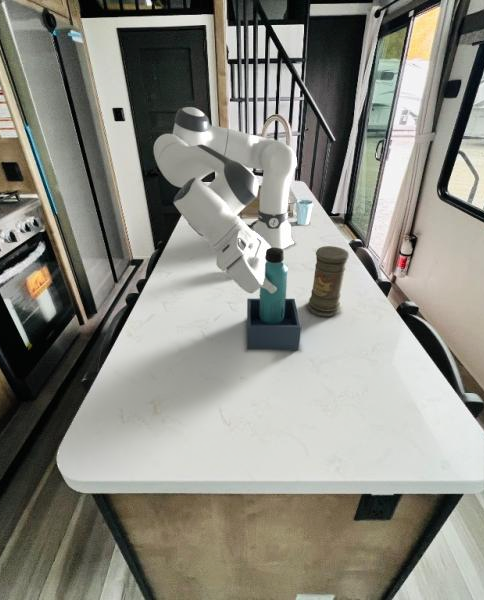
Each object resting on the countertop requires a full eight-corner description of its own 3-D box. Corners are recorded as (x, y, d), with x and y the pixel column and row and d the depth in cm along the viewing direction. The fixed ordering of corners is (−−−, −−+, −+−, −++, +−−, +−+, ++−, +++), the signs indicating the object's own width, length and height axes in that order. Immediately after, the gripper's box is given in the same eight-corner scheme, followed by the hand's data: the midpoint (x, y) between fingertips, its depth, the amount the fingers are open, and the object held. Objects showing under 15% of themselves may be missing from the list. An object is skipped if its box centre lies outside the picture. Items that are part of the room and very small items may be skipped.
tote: (247, 319, 89) (247, 298, 85) (292, 319, 89) (294, 298, 85) (247, 349, 78) (247, 327, 75) (298, 350, 78) (301, 327, 74)
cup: (300, 226, 152) (302, 205, 147) (291, 222, 158) (293, 201, 153) (313, 224, 155) (316, 202, 149) (304, 220, 161) (306, 199, 155)
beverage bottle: (283, 331, 78) (289, 258, 67) (256, 327, 80) (258, 255, 68) (285, 315, 84) (291, 245, 72) (260, 312, 85) (262, 242, 74)
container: (318, 297, 99) (327, 242, 89) (344, 308, 93) (356, 251, 84) (301, 308, 94) (308, 251, 84) (328, 321, 88) (338, 262, 78)
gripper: (235, 233, 82) (271, 271, 86) (214, 269, 65) (260, 314, 69) (252, 217, 79) (289, 257, 82) (235, 251, 62) (282, 298, 66)
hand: (276, 283), depth 75 cm, fingers closed on beverage bottle, 5 cm apart
